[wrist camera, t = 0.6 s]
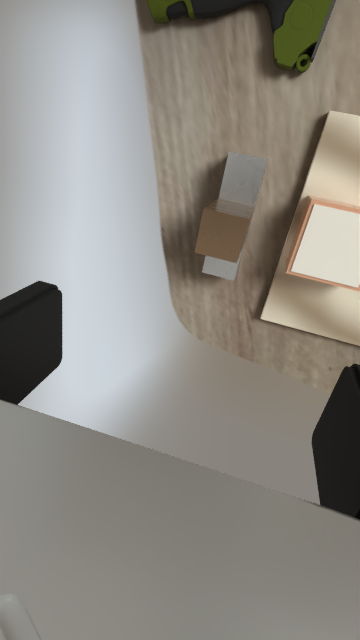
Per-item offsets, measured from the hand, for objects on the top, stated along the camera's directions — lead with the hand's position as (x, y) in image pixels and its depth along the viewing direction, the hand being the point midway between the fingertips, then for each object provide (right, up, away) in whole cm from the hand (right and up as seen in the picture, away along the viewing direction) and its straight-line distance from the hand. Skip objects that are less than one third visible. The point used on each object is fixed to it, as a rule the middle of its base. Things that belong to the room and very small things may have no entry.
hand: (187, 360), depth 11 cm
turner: (+5, +11, +20) cm, 23 cm away
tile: (+13, +8, +18) cm, 23 cm away
